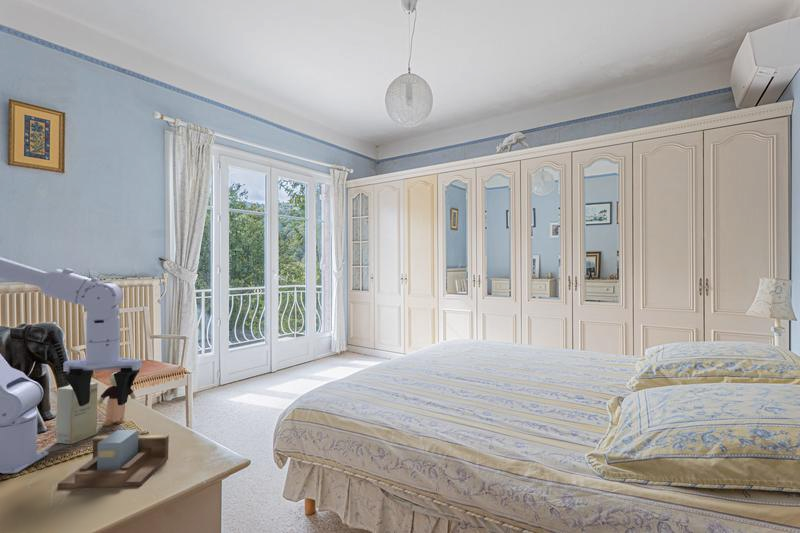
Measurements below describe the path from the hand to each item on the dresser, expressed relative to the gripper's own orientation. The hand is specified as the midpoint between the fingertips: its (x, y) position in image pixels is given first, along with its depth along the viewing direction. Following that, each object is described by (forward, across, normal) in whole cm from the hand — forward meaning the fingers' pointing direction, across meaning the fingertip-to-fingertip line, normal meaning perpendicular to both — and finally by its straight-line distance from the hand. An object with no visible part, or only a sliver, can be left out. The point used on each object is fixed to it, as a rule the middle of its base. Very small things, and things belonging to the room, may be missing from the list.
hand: (103, 404), depth 85 cm
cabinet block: (+10, +8, -8) cm, 15 cm away
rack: (+10, +8, -8) cm, 15 cm away
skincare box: (+10, -10, +8) cm, 17 cm away
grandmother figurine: (+11, -7, +17) cm, 21 cm away
